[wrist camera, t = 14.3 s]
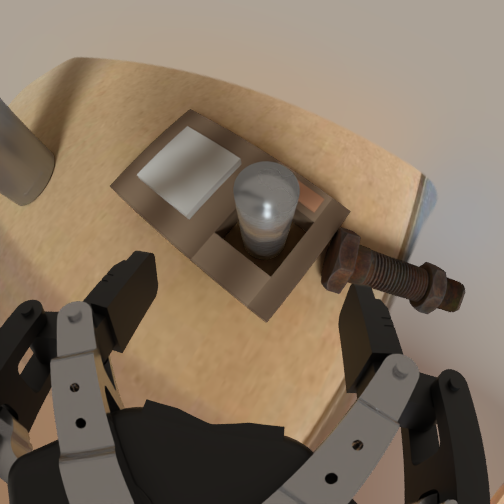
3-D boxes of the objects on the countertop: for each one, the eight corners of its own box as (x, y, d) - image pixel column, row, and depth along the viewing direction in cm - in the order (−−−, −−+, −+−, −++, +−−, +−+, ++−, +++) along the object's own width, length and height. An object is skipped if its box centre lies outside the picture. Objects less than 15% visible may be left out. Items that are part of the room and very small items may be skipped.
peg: (234, 242, 26) (219, 193, 16) (260, 211, 27) (261, 151, 17) (267, 268, 25) (272, 233, 16) (293, 236, 26) (312, 185, 16)
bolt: (436, 308, 26) (318, 272, 27) (453, 267, 24) (335, 223, 25) (459, 332, 20) (324, 295, 21) (481, 285, 19) (346, 234, 20)
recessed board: (121, 198, 28) (105, 181, 24) (195, 125, 30) (188, 102, 26) (266, 322, 24) (267, 322, 20) (341, 223, 26) (354, 206, 22)
